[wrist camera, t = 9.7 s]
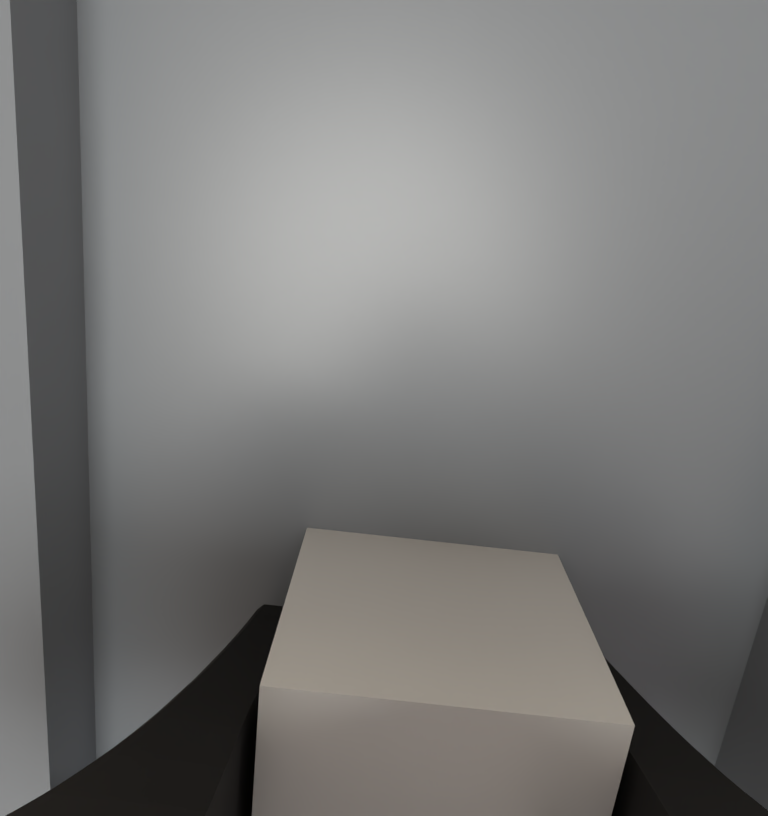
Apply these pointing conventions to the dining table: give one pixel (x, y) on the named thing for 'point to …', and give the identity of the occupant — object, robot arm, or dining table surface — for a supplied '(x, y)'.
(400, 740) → the greyish beige cube
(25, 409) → the parts tray
